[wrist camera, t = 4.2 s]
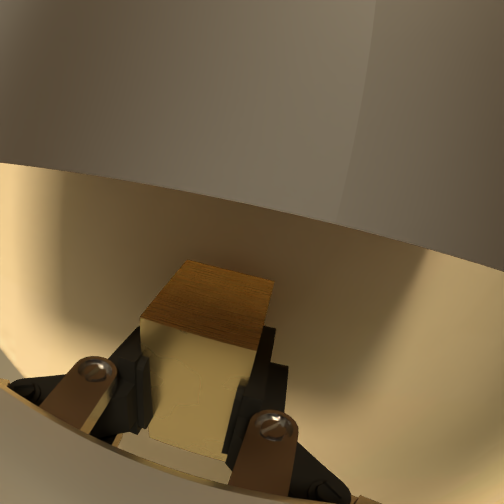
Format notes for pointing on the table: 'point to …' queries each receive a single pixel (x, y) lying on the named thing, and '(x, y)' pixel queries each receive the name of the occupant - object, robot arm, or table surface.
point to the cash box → (273, 106)
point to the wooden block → (201, 352)
